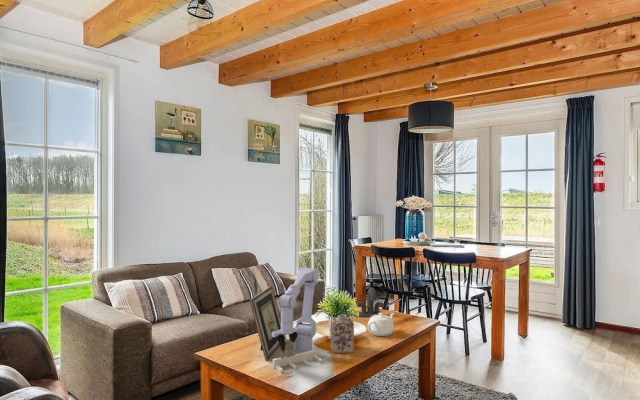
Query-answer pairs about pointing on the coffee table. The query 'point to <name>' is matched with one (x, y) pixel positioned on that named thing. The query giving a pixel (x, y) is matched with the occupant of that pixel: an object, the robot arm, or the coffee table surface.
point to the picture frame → (266, 320)
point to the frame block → (288, 348)
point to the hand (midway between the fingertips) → (286, 349)
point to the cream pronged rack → (295, 360)
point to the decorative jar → (342, 334)
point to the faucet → (370, 304)
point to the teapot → (381, 325)
